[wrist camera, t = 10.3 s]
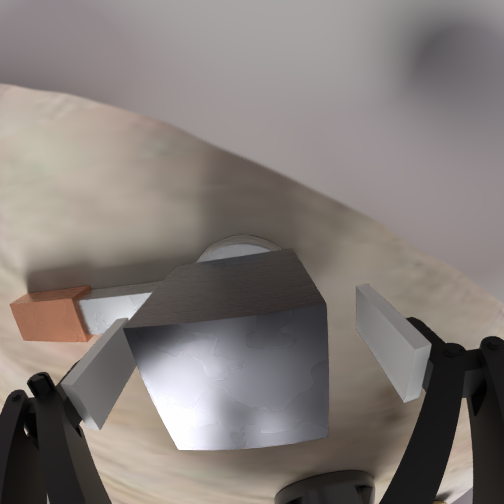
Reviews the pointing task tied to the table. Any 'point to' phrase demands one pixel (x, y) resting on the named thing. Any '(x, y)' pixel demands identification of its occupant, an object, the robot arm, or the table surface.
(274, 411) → the brushed steel cube
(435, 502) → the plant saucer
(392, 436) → the table surface
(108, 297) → the ratchet
